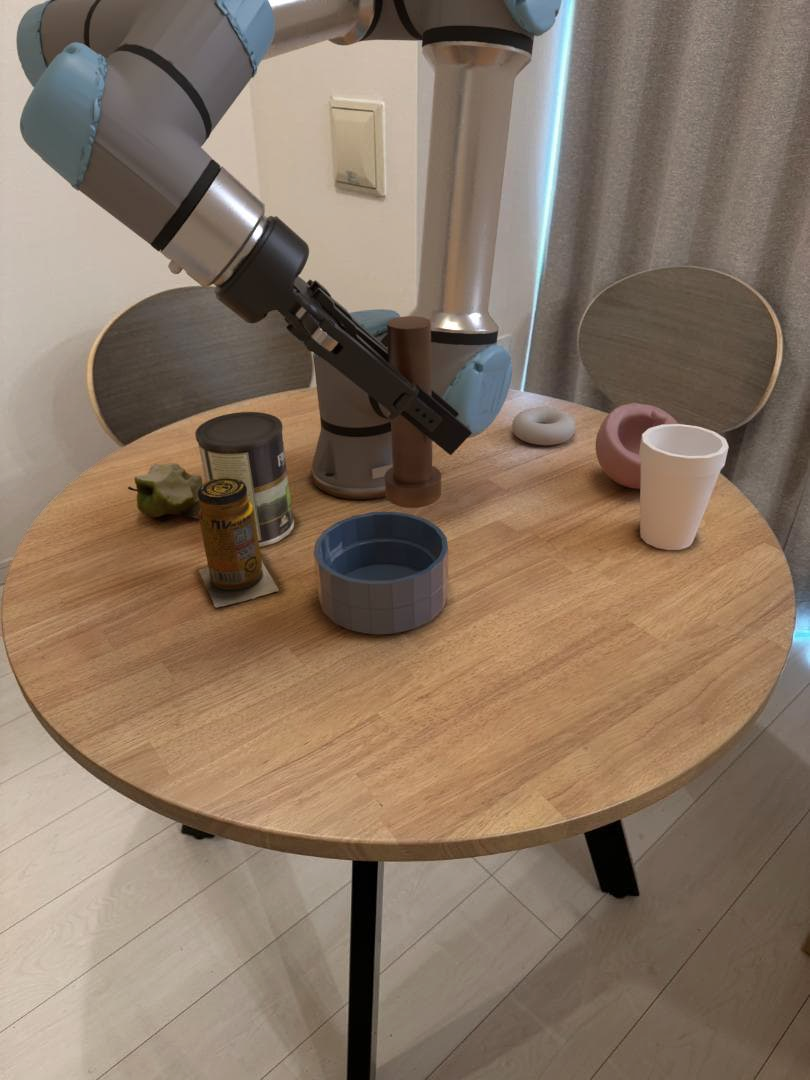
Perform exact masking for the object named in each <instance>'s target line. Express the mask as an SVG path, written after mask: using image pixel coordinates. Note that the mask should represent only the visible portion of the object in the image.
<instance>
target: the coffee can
mask: <svg viewBox="0 0 810 1080" xmlns="http://www.w3.org/2000/svg"><path fill="white" fill-rule="evenodd" d="M283 429H284V427H283V423H282V421H281V419H280V418H279V417H277V416H275V415H273V414H269V413H266V412H258V411H241V412H233V413H227V414H222V415H218V416H216V417H213V418H210V419H208V420H206V421H205V422H203V423H201V424H200V425H199V426H198V427H197V428H196V429H195V432H194V435H195V436H194V437H195V440H196V442H197V443H198V449H199V455H200V459H201V465H202V469H203V470H202V471H203V474H204V481H205V483H206V482H208V481H210V480H213V479H217V478H226V477H231V478H236V479H239V480H241V481H243V482H244V483H245V485H246V487H247V494H248V497H249V502H250V503H251V504H252V506H253V508H254V515H255V522H256V530H257V536H258V542H259V547H260V548H262V547H267V546H271V545H273V544H276V543H278V542H280V541H281V540H283V539H285V538H286V537H287V536H289V535H290V534H291V532H292V531H293V529H294V527H295V520H294V515H293V509H292V507H293V506H292V500H291V492H290V486H289V484H290V483H289V477H288V469H287V468H288V467H287V461H286V452H285V445H284V437H283V431H284V430H283Z"/></svg>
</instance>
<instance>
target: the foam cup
mask: <svg viewBox="0 0 810 1080" xmlns="http://www.w3.org/2000/svg"><path fill="white" fill-rule="evenodd" d="M729 448H730V447H729V443H728V441H727V438H725V437H724V436H722V435H721V434H720V433H717V432H716V431H713V430H711V429H708V428H706V427H705V428H704V427H701V426H698V425H690V424H684V423H683V424H682V423H678V424H666V425H659V426H656V427H652V428H649V429H648V430H646V431H645V432H644V433H643V434H642V438H641V444H640V451H639V455H640V460H641V485H640V489H639V490H640V491H639V492H640V495H639V498H640V499H639V534H640V538H641V539H642V541H644V543H646V544H647V545H649V546H652V547H654V548H655V549H661V550H666V551H681V550H684V549H686V548H688V547H690V546H691V545H692V544H693V543H694V539H695V538H696V536H697V533H698V530H699V527H700V525H701V523H702V519H703V518H704V515H705V512H706V509H707V508H708V504H709V501H710V499H711V496H712V494H713V491H714V489H715V487H716V483H717V481H718V478H719V475H720V474H721V470H722V469H723V468H724V467H725V465H726V460H727V456H728V451H729Z"/></svg>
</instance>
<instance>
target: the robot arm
mask: <svg viewBox="0 0 810 1080" xmlns="http://www.w3.org/2000/svg"><path fill="white" fill-rule="evenodd" d="M561 5H562V0H46V1H44V2H42V3H38V4H35V5H34V6H31V7H30V8H29V9H27V10H26V12H25V13H24V14H23V16H22V17H21V19H20V21H19V24H18V26H17V29H16V51H17V57H18V60H19V63H20V65H21V68H22V71H23V73H24V75H25V77H26V79H27V80H28V82H29V83H30V85H31V87H33V89H32V90H31V92H30V94H29V96H28V98H27V100H26V102H25V104H24V106H23V109H22V112H21V115H20V119H19V130H20V135H21V137H22V139H23V141H24V143H25V144H26V145H27V147H29V148H30V149H31V150H32V151H33V152H34V153H35V154H36V155H37V156H38V157H40V158H41V160H42V161H43V162H44V163H45V164H46V165H47V166H49V167H50V168H51V169H53V171H55V172H56V173H57V174H58V175H59V176H60V177H62V178H63V179H64V180H65V181H66V182H67V183H68V184H70V187H72V188H73V189H74V190H76V191H77V192H78V191H79V192H81V193H82V194H84V196H86V197H87V198H88V199H90V200H91V201H92V202H93V203H95V204H96V205H97V206H99V207H100V208H102V209H103V211H105V212H107V213H108V214H109V215H110V216H112V217H113V218H114V219H116V220H117V221H119V222H120V223H121V224H122V225H124V226H125V227H126V228H128V229H129V230H130V231H132V233H134V234H136V235H137V236H138V237H140V238H141V239H142V240H144V241H145V242H146V243H147V244H148V245H150V246H151V247H152V248H153V249H154V250H155V251H157V252H160V254H161V255H162V256H164V257H165V258H166V259H168V260H170V261H169V263H168V265H167V268H168V269H169V270H170V273H172V274H174V275H179V274H180V273H181V272H182V271H183V270H184V271H185V274H186V275H187V276H188V277H190V278H191V279H193V280H194V281H195V282H196V283H198V284H199V285H200V286H202V287H203V288H209V287H211V286H212V285H213V286H215V288H214V291H213V292H214V294H215V298H216V299H217V301H219V302H220V303H222V304H223V305H224V306H225V307H227V308H228V309H229V310H230V311H232V312H233V313H234V314H236V315H237V316H238V317H240V318H241V319H242V320H243V321H244V322H246V323H248V324H257V323H259V322H261V321H262V320H263V319H265V318H266V317H267V316H268V314H269V313H271V312H272V311H277V312H279V313H280V315H281V316H282V318H284V321H285V322H286V323H287V325H286V326H285V328H286V329H287V331H288V332H289V333H290V334H292V335H293V336H294V337H295V338H296V339H297V340H299V341H300V342H303V344H304V346H305V348H306V350H308V351H309V352H311V353H312V358H313V367H314V375H315V384H316V393H317V401H318V403H317V404H318V409H319V421H320V431H319V435H318V439H317V444H316V447H315V450H314V451H315V452H314V455H313V459H312V465H311V471H312V480H313V483H314V485H315V486H316V487H317V488H318V489H319V490H321V491H322V492H323V493H326V494H327V495H331V496H333V497H337V498H342V499H347V500H372V499H373V500H374V499H381V498H384V497H385V498H386V495H385V473H386V472H387V470H389V469H390V468H392V467H393V458H392V435H391V419H392V420H394V418H395V417H396V416H397V417H398V416H399V415H400V414H401V415H402V416H403V417H404V418H405V419H407V420H408V421H409V422H410V423H412V424H413V425H414V426H415V427H416V428H418V429H419V430H420V431H421V432H423V433H424V434H425V435H426V436H427V437H429V438H430V439H431V440H432V442H433V443H435V444H436V445H437V446H438V447H440V448H441V450H443V451H445V452H446V454H448V455H449V456H452V455H453V454H454V453H455V452H456V451H457V450H458V449H459V448H460V446H461V445H462V444H464V442H465V441H466V440H467V439H471V438H474V437H477V436H479V435H480V434H482V433H483V432H485V431H487V429H488V428H489V427H490V426H491V424H493V422H494V421H495V420H496V418H497V416H498V415H499V413H500V412H501V410H502V408H503V406H504V405H505V404H504V403H505V402H506V399H507V397H508V393H509V390H510V387H511V383H512V378H513V362H512V361H511V360H512V357H511V354H510V352H509V351H508V350H507V349H506V348H504V347H503V346H502V345H500V344H498V336H499V329H500V328H499V325H498V324H497V323H496V322H495V320H494V319H493V317H492V316H491V315H490V312H489V304H490V297H491V287H492V281H493V280H492V279H493V270H494V261H495V253H496V243H497V236H498V225H499V218H500V209H501V202H502V193H503V192H502V191H503V182H504V174H505V165H506V157H507V148H508V142H509V141H508V139H509V131H510V124H511V123H510V122H511V115H512V114H511V113H512V105H513V97H514V89H515V79H517V76H518V75H519V74H520V73H521V72H522V71H523V70H524V69H525V68H526V67H527V66H528V64H530V63H531V61H532V57H533V48H534V42H535V37H540V36H542V35H544V33H547V32H548V31H550V30H551V28H552V27H554V24H555V23H556V18H557V17H558V15H559V12H560V9H561ZM326 41H329V42H330V43H332V44H335V45H337V46H350V45H353V44H356V43H360V42H367V41H408V42H409V41H410V42H411V41H413V42H415V41H421V54H422V56H423V57H424V59H425V61H426V62H427V63H428V66H430V68H431V69H432V71H433V84H432V97H431V112H430V125H429V137H428V152H427V165H426V177H425V190H424V202H423V204H424V205H423V217H422V229H421V242H420V255H419V256H420V257H419V269H418V282H417V295H416V305H415V307H414V308H413V309H412V310H411V311H410V312H408V313H407V314H406V315H405V316H417V317H423V318H427V319H429V320H430V322H431V390H432V397H431V396H430V395H429V394H428V393H427V392H425V391H424V390H423V389H422V388H421V387H420V386H418V385H417V386H416V385H415V384H414V383H411V382H410V381H408V380H407V379H406V378H405V377H404V376H403V375H402V374H401V373H399V372H398V371H397V370H396V369H395V368H394V367H393V366H392V365H391V364H389V363H388V341H387V322H388V321H389V320H391V319H394V318H398V317H401V315H400V313H398V312H397V311H396V310H392V309H383V308H381V309H379V308H378V309H365V310H358V311H352V312H349V311H348V310H347V308H345V307H344V306H342V304H340V303H339V302H338V301H337V300H335V299H334V298H333V297H332V295H331V294H330V292H329V291H328V289H327V288H326V287H325V286H323V285H322V284H321V283H320V282H319V281H317V280H316V279H314V280H312V279H308V280H307V281H306V280H304V279H303V278H301V276H300V275H301V274H302V272H303V270H304V268H305V266H306V265H307V262H308V260H309V256H310V247H309V244H308V243H307V242H306V241H305V240H304V239H303V238H302V237H300V236H299V234H297V233H296V232H295V231H294V230H292V229H291V228H290V227H289V226H288V225H287V224H286V223H285V222H284V221H283V220H282V219H281V218H279V216H277V215H275V216H273V215H269V216H266V215H265V213H266V206H265V203H264V202H263V201H261V200H260V199H259V198H258V197H257V196H256V195H255V194H254V193H253V192H252V191H250V190H249V189H248V188H247V187H246V186H245V185H244V184H243V183H241V182H240V180H238V179H237V178H236V177H235V176H234V175H233V174H231V173H230V171H229V170H227V168H225V167H224V166H221V164H219V162H217V161H216V160H215V159H213V158H212V156H211V155H210V154H209V153H208V152H206V150H205V149H204V148H202V147H203V146H204V144H205V143H206V142H207V140H208V139H209V138H210V136H211V133H212V132H213V131H214V130H215V128H216V127H217V126H218V125H219V123H220V121H221V120H222V119H223V117H224V116H225V114H227V112H228V111H229V109H230V108H231V106H232V105H233V104H234V102H235V101H236V100H237V98H238V97H239V96H240V94H241V93H242V92H243V90H244V89H245V87H247V85H248V83H250V81H251V79H254V78H255V76H256V75H257V72H258V67H259V66H260V64H261V62H262V61H264V60H268V59H272V58H275V57H278V56H281V55H284V54H287V53H290V52H294V51H297V50H301V49H304V48H306V47H310V46H313V45H317V44H320V43H323V42H326Z"/></svg>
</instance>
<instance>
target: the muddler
mask: <svg viewBox="0 0 810 1080" xmlns="http://www.w3.org/2000/svg"><path fill="white" fill-rule="evenodd" d="M387 341H388V363H389V364H391V365H392V366H393V367H394V368H395V369H396V370H397V371H398V372H399V373H401V374H402V375H403V376H404V377H405V378H406V379H407V380H408V381H410V382H411V383H414V384H415V385H416V386H417V385H418V386H420V387H421V388H422V389H423V390H424V391H425V392H427V393H428V394H429V395H430V396H431V397H432V390H431V322H430V320H429V319H427V318H423V317H417V316H406V315H404V316H400V317H398V318H394V319H391V320H389V321H388V322H387ZM391 435H392V458H393V467H392V468H390V469H389V470H387V472H386V473H385V495H386V496H385V498H386V500H387V501H388V502H390V504H392V505H395V506H397V507H402V508H407V509H408V508H409V509H416V508H417V509H418V508H424V507H428V506H431V505H432V504H434V503H437V502H438V500H440V498H441V497H442V473H441V471H440V469H438V467H436V466H434V465H433V441H432V440H431V439H430V438H429V437H427V436H426V435H425V434H424V433H423V432H421V431H420V430H419V429H418V428H416V427H415V426H414V425H413V424H412V423H410V422H409V421H408V420H407V419H405V418H404V417H403V416H402V415H401V414H400V415H399V416H398V417H397V416H396V417H395V418H394V420H392V419H391Z"/></svg>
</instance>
